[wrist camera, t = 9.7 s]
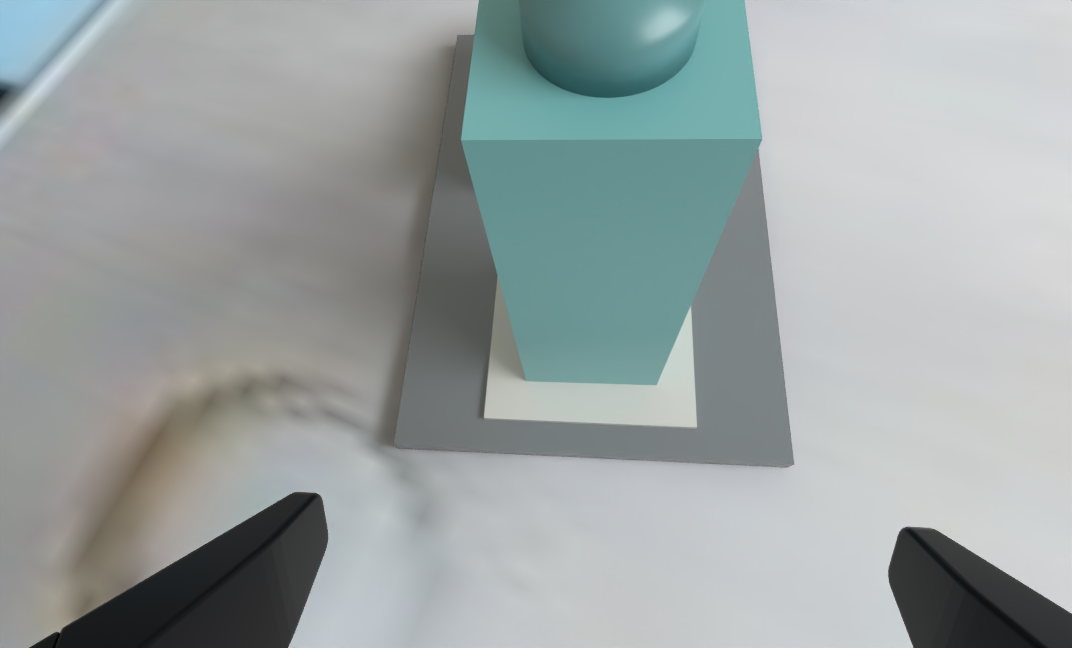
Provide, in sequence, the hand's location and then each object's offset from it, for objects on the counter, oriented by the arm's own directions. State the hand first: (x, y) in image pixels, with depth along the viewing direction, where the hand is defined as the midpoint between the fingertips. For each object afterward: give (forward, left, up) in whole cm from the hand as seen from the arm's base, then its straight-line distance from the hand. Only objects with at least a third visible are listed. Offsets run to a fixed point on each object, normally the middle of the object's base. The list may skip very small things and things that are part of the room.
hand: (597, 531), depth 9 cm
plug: (+6, +5, -9) cm, 12 cm away
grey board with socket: (+9, +8, -10) cm, 16 cm away
